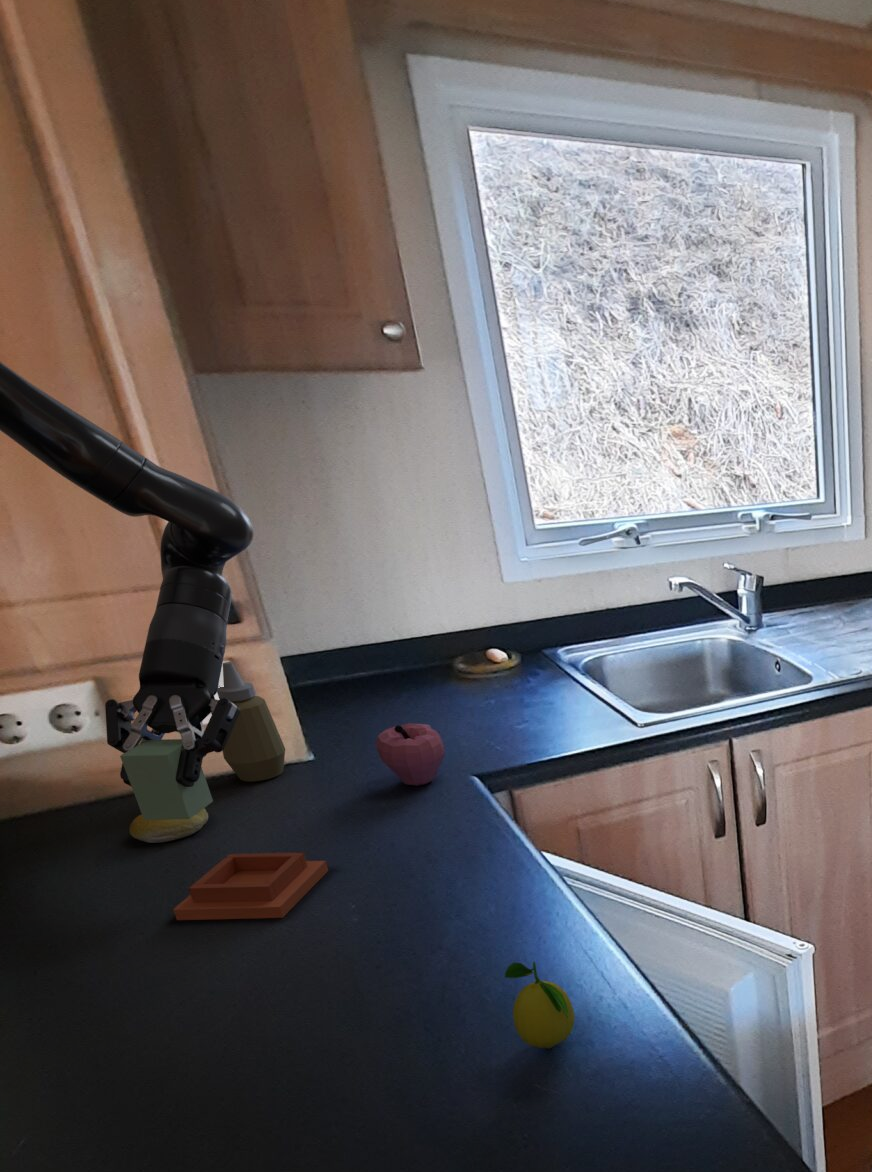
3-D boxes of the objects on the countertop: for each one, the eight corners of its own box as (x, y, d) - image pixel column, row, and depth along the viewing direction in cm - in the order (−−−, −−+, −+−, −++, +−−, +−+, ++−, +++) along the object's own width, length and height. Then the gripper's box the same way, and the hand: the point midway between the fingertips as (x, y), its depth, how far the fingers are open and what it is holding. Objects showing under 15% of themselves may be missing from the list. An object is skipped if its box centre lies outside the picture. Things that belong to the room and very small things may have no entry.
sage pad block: (189, 819, 121) (166, 754, 117) (143, 820, 121) (119, 755, 117) (213, 801, 125) (192, 738, 122) (169, 802, 125) (146, 739, 121)
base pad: (282, 917, 125) (274, 892, 123) (176, 920, 124) (167, 894, 122) (328, 870, 136) (321, 846, 134) (231, 872, 135) (223, 848, 133)
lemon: (516, 1032, 106) (499, 949, 101) (577, 1021, 108) (563, 939, 103) (515, 1073, 100) (497, 986, 96) (580, 1060, 102) (564, 975, 98)
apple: (457, 785, 161) (443, 723, 156) (396, 799, 156) (380, 736, 151) (438, 766, 167) (424, 706, 163) (379, 779, 162) (363, 718, 158)
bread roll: (122, 847, 141) (112, 820, 139) (156, 819, 148) (147, 793, 147) (190, 843, 142) (181, 816, 140) (220, 815, 150) (211, 790, 148)
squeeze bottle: (221, 777, 162) (184, 664, 154) (276, 761, 168) (243, 652, 160) (246, 789, 158) (209, 674, 150) (301, 773, 164) (269, 661, 156)
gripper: (98, 636, 120) (67, 773, 115) (229, 635, 122) (204, 771, 116) (142, 667, 128) (114, 798, 122) (265, 666, 129) (243, 795, 124)
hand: (158, 784), depth 119 cm, fingers closed on sage pad block, 5 cm apart
